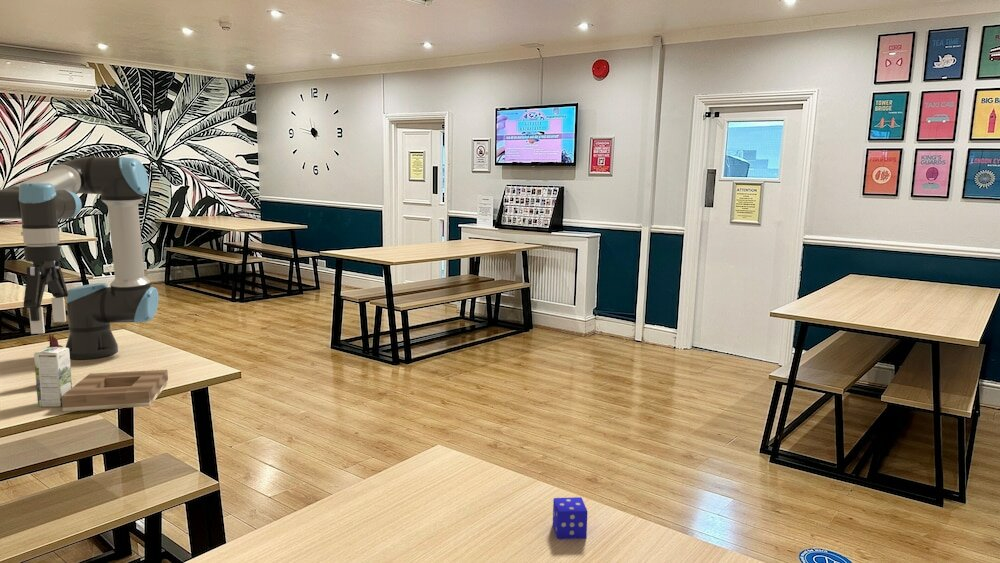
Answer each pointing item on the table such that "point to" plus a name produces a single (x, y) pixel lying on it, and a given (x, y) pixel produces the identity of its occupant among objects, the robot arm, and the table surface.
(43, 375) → the syrup box
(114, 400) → the socket block
